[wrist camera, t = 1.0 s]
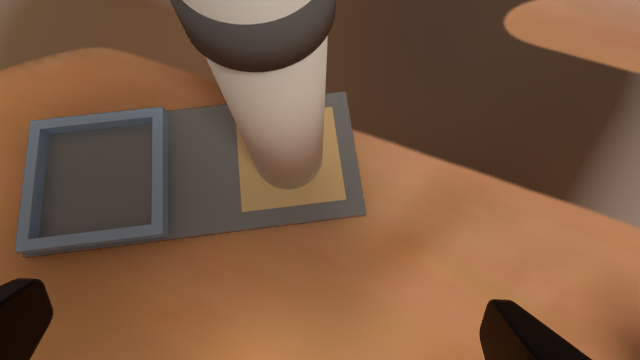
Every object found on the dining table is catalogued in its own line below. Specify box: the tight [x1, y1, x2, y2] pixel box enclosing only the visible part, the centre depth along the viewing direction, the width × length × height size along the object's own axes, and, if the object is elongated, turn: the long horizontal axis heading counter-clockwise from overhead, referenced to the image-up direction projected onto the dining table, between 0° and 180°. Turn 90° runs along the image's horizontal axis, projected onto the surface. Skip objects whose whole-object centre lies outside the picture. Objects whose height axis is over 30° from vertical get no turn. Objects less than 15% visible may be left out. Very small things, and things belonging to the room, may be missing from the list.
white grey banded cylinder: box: [170, 0, 336, 190], centre depth 15 cm, size 4×4×14 cm
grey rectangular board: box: [15, 92, 366, 257], centre depth 22 cm, size 19×8×1 cm, turn 97°
